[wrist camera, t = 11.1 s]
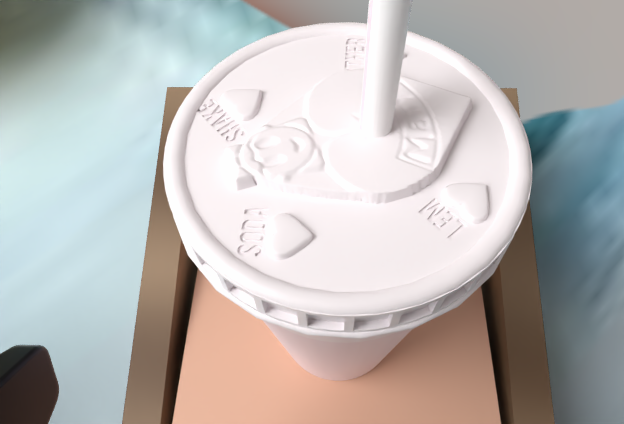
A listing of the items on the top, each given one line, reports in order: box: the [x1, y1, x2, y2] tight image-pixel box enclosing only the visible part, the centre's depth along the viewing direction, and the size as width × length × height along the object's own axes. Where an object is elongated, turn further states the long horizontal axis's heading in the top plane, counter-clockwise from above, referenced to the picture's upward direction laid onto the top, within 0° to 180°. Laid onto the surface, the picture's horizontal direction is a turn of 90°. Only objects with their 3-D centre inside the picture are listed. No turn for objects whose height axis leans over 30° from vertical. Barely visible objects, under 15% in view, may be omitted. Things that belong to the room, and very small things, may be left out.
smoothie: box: [163, 0, 532, 381], centre depth 11 cm, size 6×6×14 cm
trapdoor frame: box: [122, 87, 555, 424], centre depth 17 cm, size 22×13×4 cm, turn 178°
